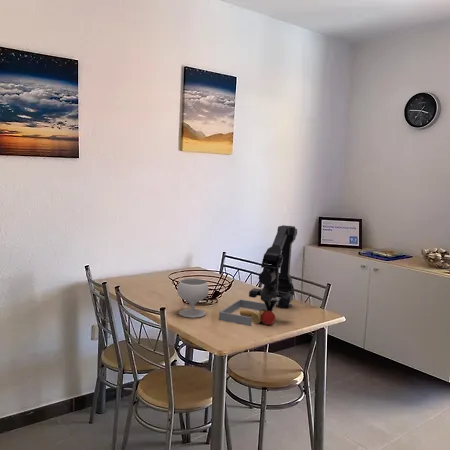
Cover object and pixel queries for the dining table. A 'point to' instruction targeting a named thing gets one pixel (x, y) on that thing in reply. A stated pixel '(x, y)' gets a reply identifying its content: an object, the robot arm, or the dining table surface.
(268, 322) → the kendama
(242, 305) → the box
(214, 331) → the dining table surface
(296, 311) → the dining table surface
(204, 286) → the chalice
